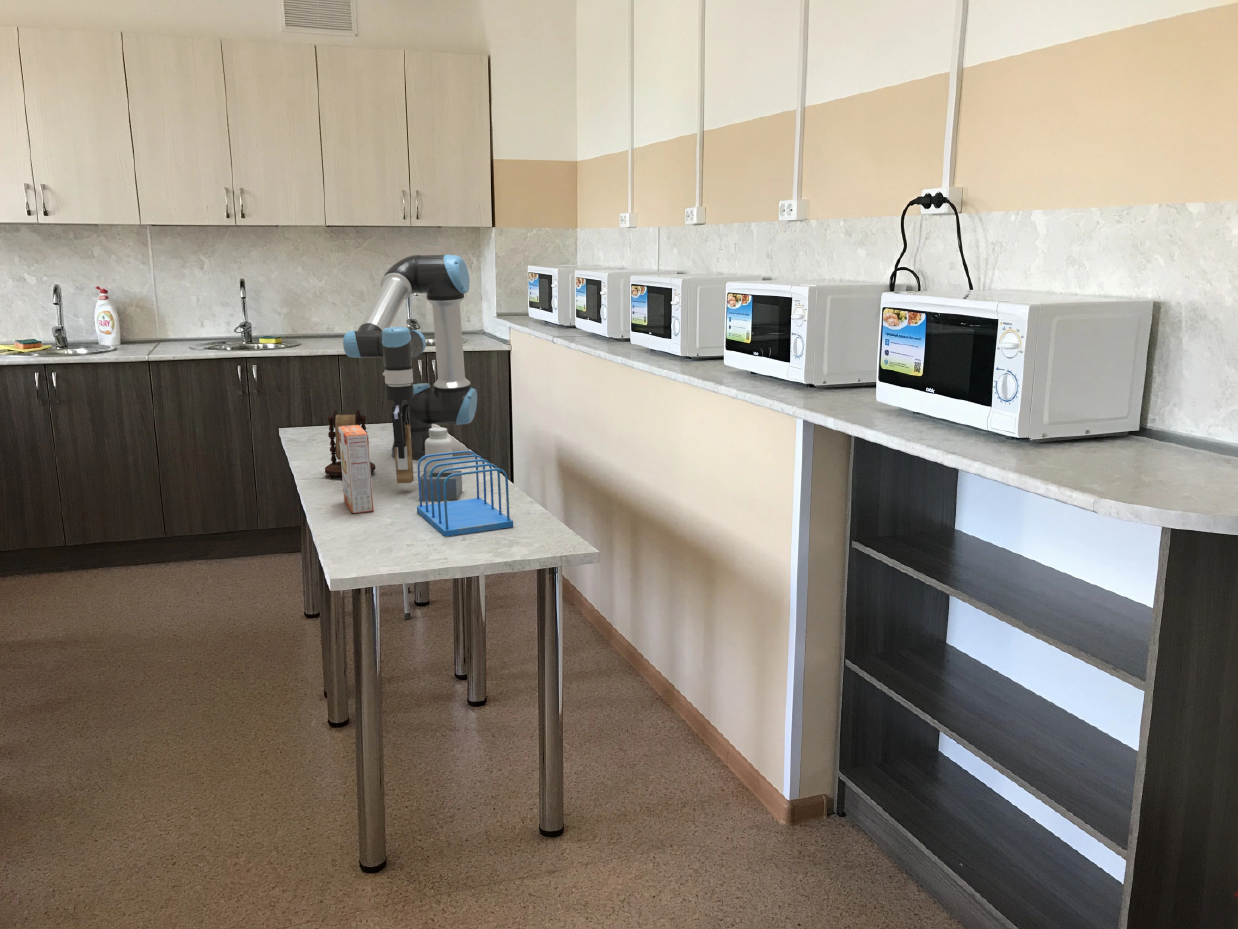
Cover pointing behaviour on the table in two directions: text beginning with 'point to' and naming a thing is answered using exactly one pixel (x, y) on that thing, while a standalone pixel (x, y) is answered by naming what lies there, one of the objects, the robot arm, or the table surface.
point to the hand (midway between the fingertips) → (404, 467)
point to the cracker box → (356, 468)
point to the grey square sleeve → (451, 486)
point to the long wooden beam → (407, 475)
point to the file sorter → (463, 501)
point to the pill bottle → (438, 448)
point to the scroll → (335, 447)
